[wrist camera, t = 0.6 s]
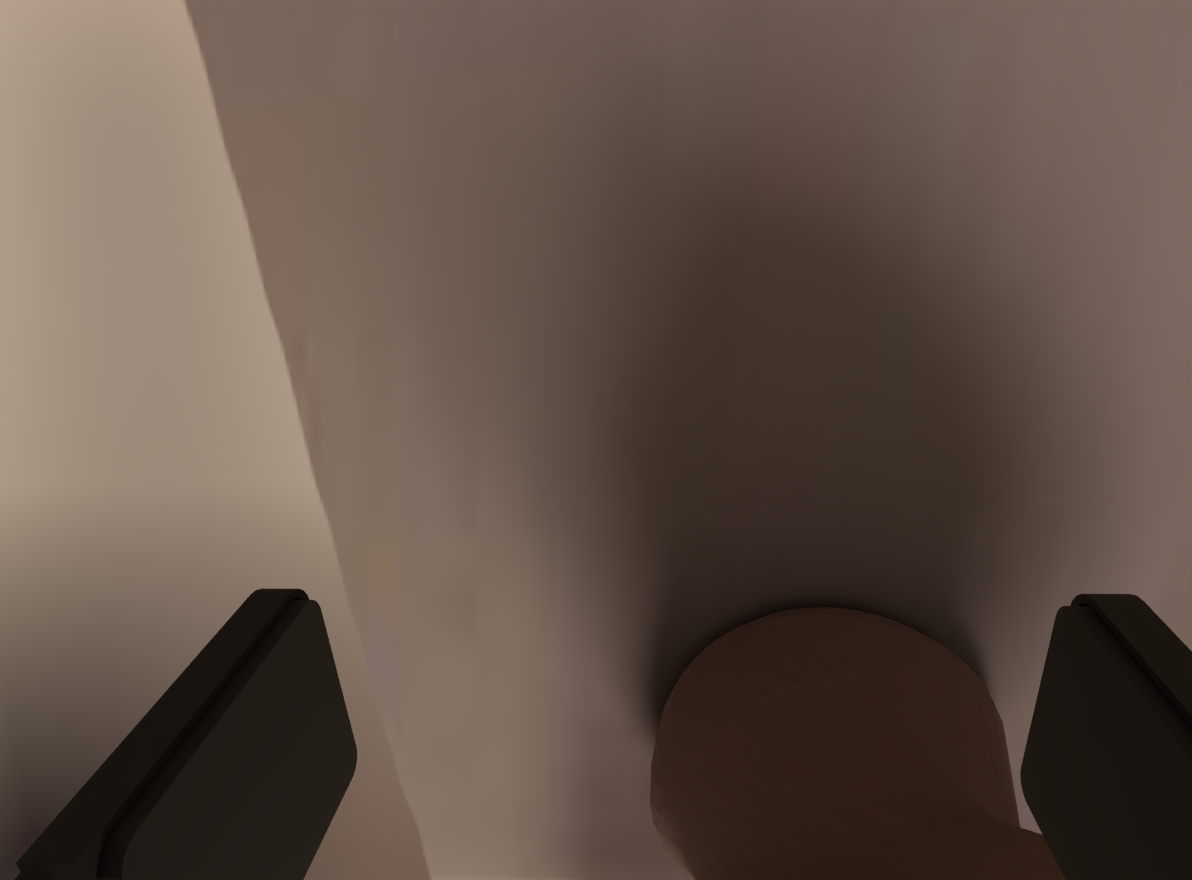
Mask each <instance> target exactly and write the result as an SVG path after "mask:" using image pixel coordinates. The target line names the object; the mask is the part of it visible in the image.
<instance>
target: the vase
mask: <svg viewBox="0 0 1192 880" xmlns="http://www.w3.org/2000/svg"><path fill="white" fill-rule="evenodd" d="M650 804H651V810H652V816H653V822H654V825H655V828H656V831H657V833H658V836H659V838H660V841H661V843H662V846H663V848H664V849H665V851H666V852H667V854H668V855H669V857H670V858H671V860H672V861H673V863H674V864H675V866H676V867H677V868H678V869H679V870H680V871H681V872H682V873H683V874H684V875H685V876H686V877H687V878H688V879H689V880H1066V879H1065V877H1064V875H1063V874H1062V872H1061V870H1060V868H1059V866H1058V864H1057V862H1056V860H1055V858H1054V856H1053V854H1052V852H1051V850H1050V848H1049V846H1048V844H1047V842H1046V840H1045V838H1044V836H1043V835H1041V834H1038V833H1035V832H1032V831H1029V830H1026V829H1023V828H1021V827H1020V823H1019V817H1018V811H1017V805H1016V799H1015V793H1014V787H1013V781H1012V774H1011V768H1010V762H1009V756H1008V750H1007V744H1006V738H1005V732H1004V727H1003V722H1002V720H1001V718H1000V716H999V713H998V711H997V709H996V707H995V704H994V702H993V700H992V698H991V696H990V694H989V692H988V690H987V688H986V686H985V685H984V683H983V682H982V681H981V680H980V678H979V677H978V676H977V674H976V673H975V672H974V671H973V670H972V669H971V668H970V667H969V666H968V665H967V664H966V663H965V662H964V661H963V660H961V659H960V658H959V657H958V656H957V655H956V654H954V653H953V652H952V651H950V650H949V649H947V648H946V647H944V646H943V645H942V644H940V643H939V642H937V641H935V640H933V639H931V638H930V637H928V636H926V635H924V634H922V633H920V632H918V631H916V630H914V629H912V628H910V627H908V626H905V625H903V624H901V623H899V622H896V621H894V620H891V619H888V618H885V617H882V616H880V615H875V614H871V613H867V612H862V611H858V610H854V609H845V608H836V607H809V608H798V609H792V610H786V611H780V612H776V613H773V614H770V615H767V616H764V617H761V618H759V619H756V620H753V621H751V622H748V623H746V624H743V625H740V626H738V627H737V628H735V629H733V630H731V631H729V632H727V633H726V634H724V635H722V636H721V637H720V638H718V639H717V640H715V641H714V642H713V643H711V644H710V645H708V646H707V647H706V648H705V649H704V650H703V651H702V652H701V653H700V654H699V655H698V656H697V657H696V658H695V659H694V660H693V661H692V662H691V663H690V665H689V666H688V667H687V668H686V669H685V671H684V672H683V673H682V674H681V676H680V677H679V679H678V681H677V683H676V684H675V686H674V688H673V690H672V692H671V694H670V696H669V698H668V700H667V702H666V704H665V706H664V708H663V712H662V716H661V720H660V724H659V728H658V733H657V738H656V743H655V748H654V753H653V759H652V764H651V796H650Z"/></svg>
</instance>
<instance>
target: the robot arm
mask: <svg viewBox="0 0 1192 880" xmlns="http://www.w3.org/2000/svg"><path fill="white" fill-rule="evenodd" d="M356 762H357V749H356V744H355V740H354V736H353V732H352V729H351V724H350V720H349V717H348V713H347V709H346V705H345V701H344V697H343V693H342V689H341V685H340V682H339V678H338V674H337V670H336V666H335V662H334V658H333V654H332V650H331V647H330V643H329V639H328V635H327V631H326V627H325V623H324V620H323V615H322V612H321V608H320V606H319V604H318V603H317V602H316V601H314V600H309V598H308V595H307V594H306V593H305V592H304V591H303V590H300V589H259V590H256V591H255V592H253V593H252V594H251V595H250V596H249V597H248V598H247V599H246V601H245V602H244V603H243V604H242V605H241V606H240V607H239V609H238V610H237V611H236V612H235V613H234V614H233V615H232V617H231V618H230V619H229V620H228V621H227V622H226V623H225V625H224V626H223V627H222V628H221V629H220V630H219V632H218V633H217V634H216V635H215V636H214V637H213V638H212V640H211V641H210V642H209V643H208V644H207V645H206V646H205V648H204V649H203V650H202V651H201V652H200V653H199V654H198V656H197V657H196V658H195V659H194V660H193V661H192V662H191V664H190V665H189V666H188V667H187V668H186V669H185V670H184V671H183V673H182V674H181V675H180V676H179V677H178V678H177V680H176V681H175V682H174V683H173V684H172V685H171V686H170V687H169V689H168V690H167V691H166V692H165V693H164V695H163V696H162V697H161V698H160V699H159V700H158V701H157V703H156V704H155V705H154V706H153V707H152V708H151V709H150V710H149V712H148V713H147V714H146V715H145V716H144V717H143V719H142V720H141V721H140V722H139V723H138V724H137V725H136V726H135V728H134V729H133V730H132V731H131V732H130V733H129V735H128V736H127V737H126V738H125V739H124V740H123V741H122V742H121V744H120V745H119V746H118V747H117V748H116V749H115V750H114V752H113V753H112V754H111V755H110V756H109V757H108V758H107V760H106V761H105V762H104V763H103V764H102V765H101V766H100V768H99V769H98V770H97V771H96V772H95V773H94V775H93V776H92V777H91V778H90V779H89V780H88V781H87V783H86V784H85V785H84V786H83V787H82V788H81V789H80V790H79V792H78V793H77V794H76V795H75V796H74V797H73V798H72V800H71V801H70V802H69V803H68V804H67V806H65V808H64V809H63V810H62V811H61V812H60V813H59V815H58V816H57V817H56V818H55V819H54V820H53V822H52V823H51V824H50V825H49V826H48V827H47V829H45V831H44V832H43V833H42V834H41V835H40V836H39V837H38V839H37V840H36V841H35V842H34V843H33V844H32V845H31V847H30V848H29V849H28V850H27V851H26V852H25V854H24V855H23V856H22V857H21V858H20V859H19V860H18V861H17V863H16V864H17V865H18V867H19V869H20V871H21V873H20V874H19V875H18V876H17V877H16V879H15V880H303V879H304V877H305V875H306V873H307V870H308V869H309V867H310V864H311V862H312V860H313V858H314V856H315V854H316V852H317V850H318V848H319V846H320V844H321V842H322V839H323V837H324V835H325V833H326V831H327V829H328V827H329V825H330V823H331V821H332V819H333V817H334V815H335V813H336V811H337V808H338V806H339V804H340V802H341V800H342V798H343V796H344V794H345V792H346V790H347V788H348V786H349V783H350V781H351V780H352V777H353V775H354V771H355V768H356ZM1020 774H1021V785H1022V790H1023V794H1024V797H1025V800H1026V802H1027V804H1028V806H1029V808H1030V810H1031V812H1032V814H1033V816H1034V818H1035V820H1036V822H1037V824H1038V826H1039V828H1040V830H1041V832H1042V834H1043V836H1044V838H1045V840H1046V842H1047V844H1048V846H1049V848H1050V850H1051V852H1052V854H1053V856H1054V858H1055V860H1056V862H1057V864H1058V866H1059V868H1060V870H1061V872H1062V874H1063V875H1064V877H1065V879H1066V880H1192V652H1191V651H1190V649H1189V648H1188V647H1187V646H1186V645H1185V644H1184V643H1183V642H1182V641H1181V640H1180V639H1179V638H1178V637H1177V636H1176V635H1175V634H1174V633H1173V632H1172V631H1171V629H1170V628H1169V627H1168V626H1167V625H1166V624H1165V623H1164V622H1163V621H1162V620H1161V619H1160V618H1159V617H1158V616H1157V615H1156V614H1155V613H1154V612H1153V611H1152V609H1151V608H1150V607H1149V606H1148V605H1147V604H1146V603H1145V602H1144V601H1143V600H1141V599H1140V598H1139V597H1138V596H1135V595H1131V594H1080V595H1077V596H1076V597H1075V598H1074V599H1073V601H1072V603H1071V606H1064V607H1061V608H1060V609H1059V610H1058V612H1057V615H1056V618H1055V622H1054V627H1053V631H1052V635H1051V640H1050V644H1049V648H1048V653H1047V657H1046V661H1045V666H1044V670H1043V674H1042V679H1041V683H1040V688H1039V692H1038V696H1037V701H1036V705H1035V709H1034V714H1033V718H1032V722H1031V727H1030V731H1029V735H1028V740H1027V744H1026V748H1025V753H1024V757H1023V761H1022V766H1021V773H1020Z"/></svg>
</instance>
